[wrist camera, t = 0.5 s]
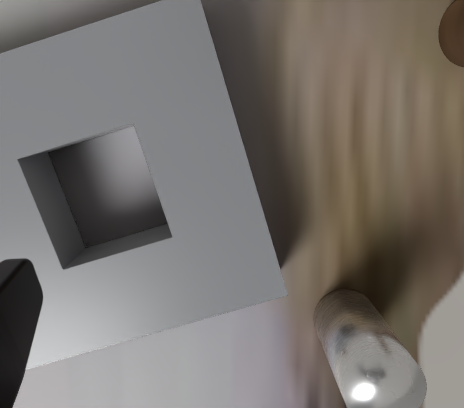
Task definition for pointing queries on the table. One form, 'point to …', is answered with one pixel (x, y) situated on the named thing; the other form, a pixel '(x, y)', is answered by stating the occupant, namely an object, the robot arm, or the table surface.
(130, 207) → the table surface
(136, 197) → the table surface
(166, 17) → the hole plate
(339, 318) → the steel pin
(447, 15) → the walnut pin
